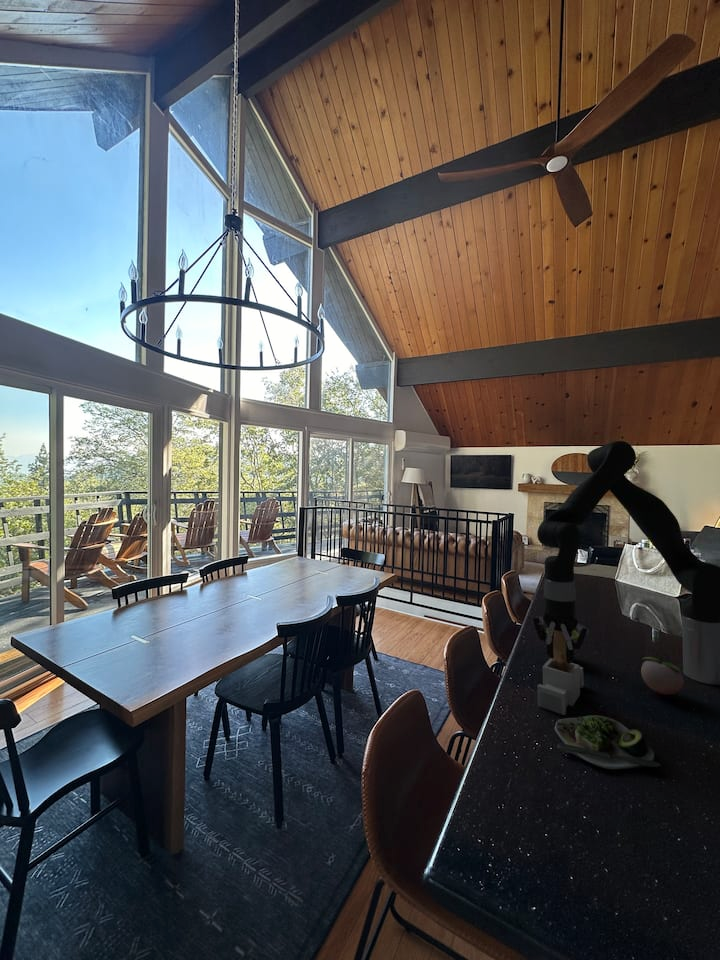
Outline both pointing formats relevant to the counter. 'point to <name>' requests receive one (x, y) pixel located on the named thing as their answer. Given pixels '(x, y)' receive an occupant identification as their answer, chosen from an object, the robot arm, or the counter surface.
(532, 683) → the counter surface
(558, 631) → the brown rounded rod
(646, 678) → the decorative fruit
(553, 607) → the robot arm
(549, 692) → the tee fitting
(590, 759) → the salad plate
